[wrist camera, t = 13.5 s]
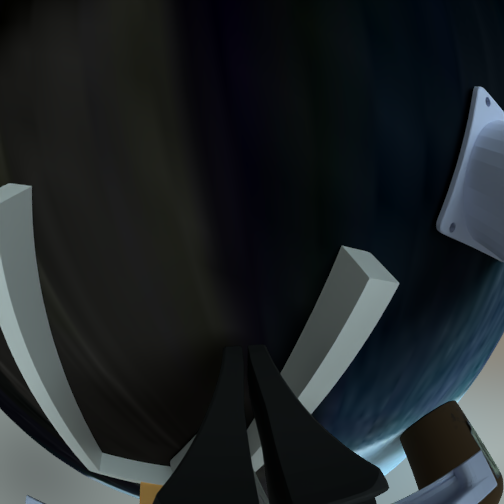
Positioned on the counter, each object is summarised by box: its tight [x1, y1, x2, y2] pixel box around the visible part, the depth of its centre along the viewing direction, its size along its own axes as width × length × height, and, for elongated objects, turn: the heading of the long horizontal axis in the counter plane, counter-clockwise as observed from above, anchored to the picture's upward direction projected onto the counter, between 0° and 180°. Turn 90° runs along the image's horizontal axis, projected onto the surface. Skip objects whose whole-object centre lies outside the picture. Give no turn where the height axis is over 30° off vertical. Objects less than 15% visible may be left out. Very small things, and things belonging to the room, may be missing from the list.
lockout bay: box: [0, 183, 400, 504], centre depth 13 cm, size 16×29×6 cm, turn 165°
